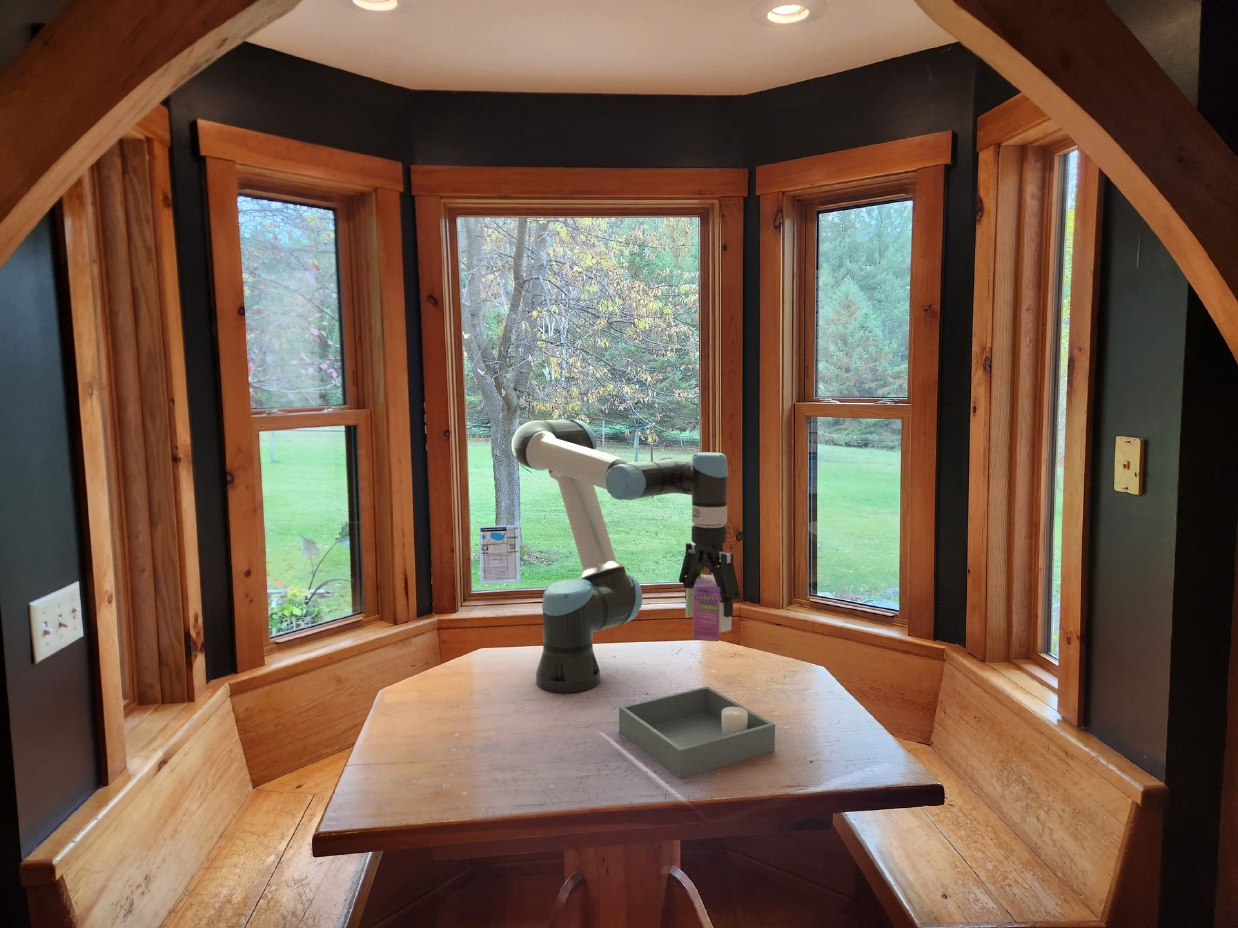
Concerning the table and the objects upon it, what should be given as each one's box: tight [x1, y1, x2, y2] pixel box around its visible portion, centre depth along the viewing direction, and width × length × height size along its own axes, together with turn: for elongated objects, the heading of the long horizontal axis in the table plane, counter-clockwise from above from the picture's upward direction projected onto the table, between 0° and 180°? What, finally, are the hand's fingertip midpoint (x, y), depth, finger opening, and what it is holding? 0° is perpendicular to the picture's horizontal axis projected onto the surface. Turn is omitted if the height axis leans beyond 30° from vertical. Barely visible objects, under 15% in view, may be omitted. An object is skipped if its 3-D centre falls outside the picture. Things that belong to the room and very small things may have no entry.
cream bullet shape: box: [721, 707, 748, 737], centre depth 151 cm, size 5×5×6 cm
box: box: [692, 574, 722, 642], centre depth 169 cm, size 10×6×12 cm, turn 170°
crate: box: [618, 686, 776, 780], centre depth 151 cm, size 22×22×6 cm
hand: (707, 623), depth 170 cm, fingers closed on box, 11 cm apart
